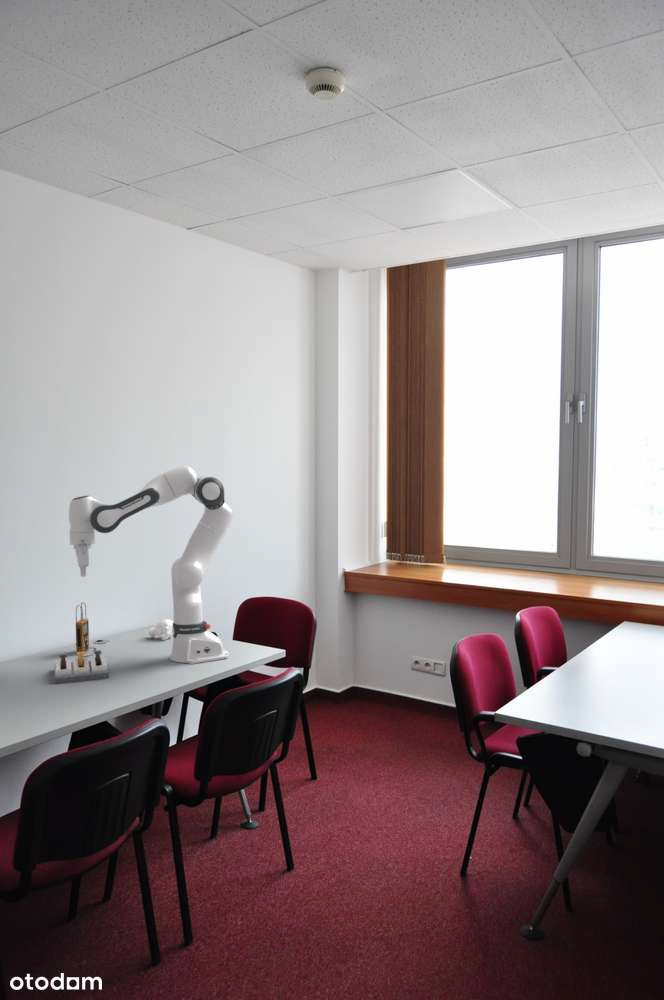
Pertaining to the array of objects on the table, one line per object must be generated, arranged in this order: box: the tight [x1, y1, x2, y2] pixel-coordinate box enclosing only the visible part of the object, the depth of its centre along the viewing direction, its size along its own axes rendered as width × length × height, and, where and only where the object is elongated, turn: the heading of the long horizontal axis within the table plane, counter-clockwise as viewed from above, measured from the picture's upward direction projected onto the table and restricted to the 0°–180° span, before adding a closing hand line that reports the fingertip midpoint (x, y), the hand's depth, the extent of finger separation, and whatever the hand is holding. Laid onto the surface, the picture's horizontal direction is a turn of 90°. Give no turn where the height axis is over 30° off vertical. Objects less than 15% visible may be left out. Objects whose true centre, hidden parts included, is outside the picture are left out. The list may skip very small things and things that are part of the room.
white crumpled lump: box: [148, 618, 174, 641], centre depth 320 cm, size 6×8×12 cm
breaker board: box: [54, 655, 110, 685], centre depth 268 cm, size 19×18×4 cm
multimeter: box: [75, 602, 97, 658], centre depth 297 cm, size 15×10×20 cm
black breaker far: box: [59, 653, 67, 668], centre depth 269 cm, size 2×2×5 cm
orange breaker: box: [76, 652, 85, 666], centre depth 271 cm, size 2×2×5 cm
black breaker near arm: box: [93, 649, 102, 664], centre depth 273 cm, size 2×2×5 cm
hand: (83, 576), depth 276 cm, fingers closed
